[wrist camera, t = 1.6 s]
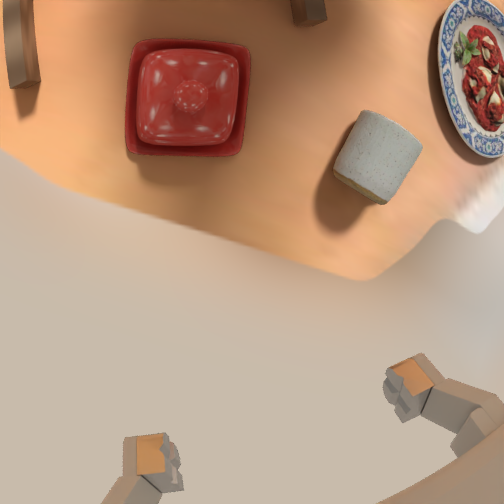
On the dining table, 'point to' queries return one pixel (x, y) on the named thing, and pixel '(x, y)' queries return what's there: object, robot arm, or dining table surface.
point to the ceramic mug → (376, 157)
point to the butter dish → (187, 97)
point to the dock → (24, 42)
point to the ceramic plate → (474, 73)
